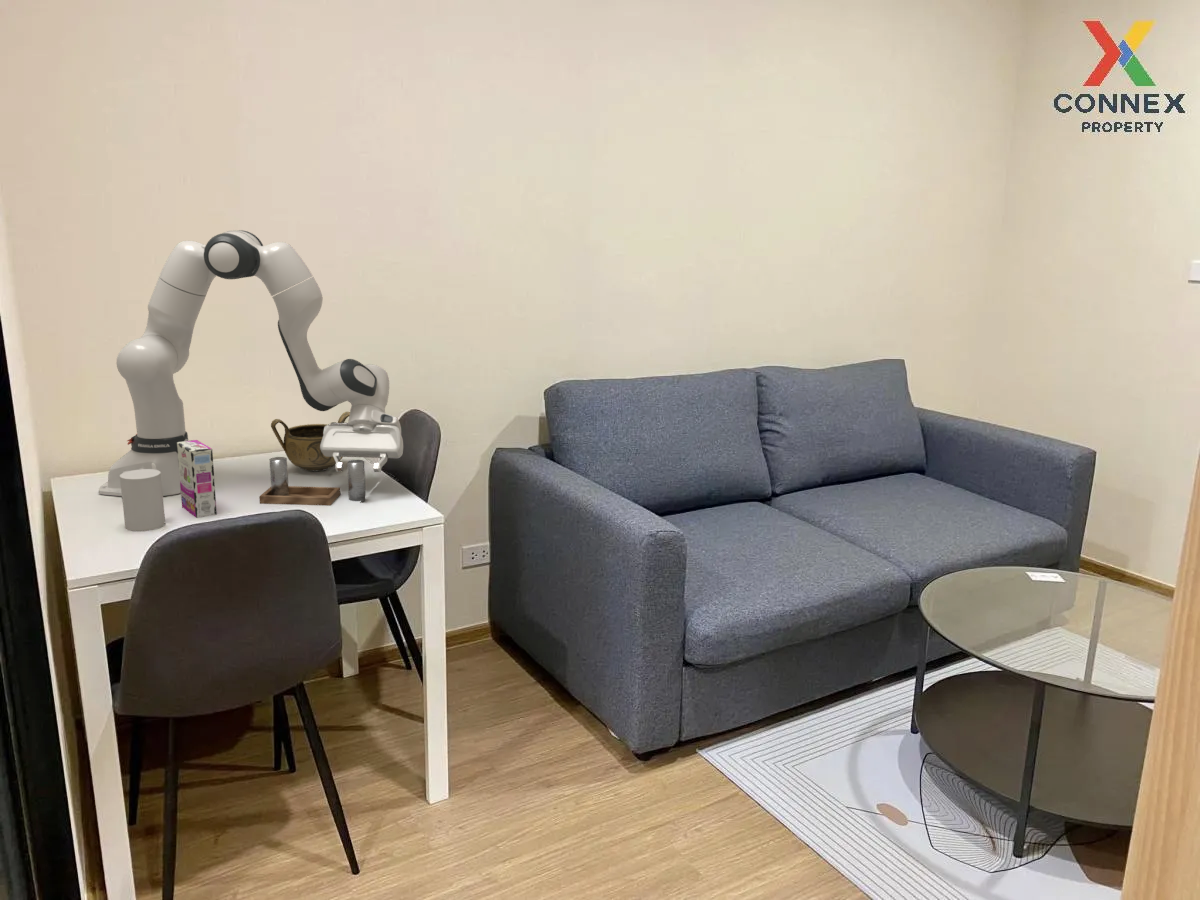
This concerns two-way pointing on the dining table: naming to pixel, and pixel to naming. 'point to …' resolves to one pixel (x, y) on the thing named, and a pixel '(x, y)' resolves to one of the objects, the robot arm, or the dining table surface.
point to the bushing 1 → (279, 476)
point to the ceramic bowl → (306, 444)
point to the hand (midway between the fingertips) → (357, 470)
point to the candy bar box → (197, 478)
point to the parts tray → (303, 496)
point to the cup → (142, 499)
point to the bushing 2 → (356, 480)
